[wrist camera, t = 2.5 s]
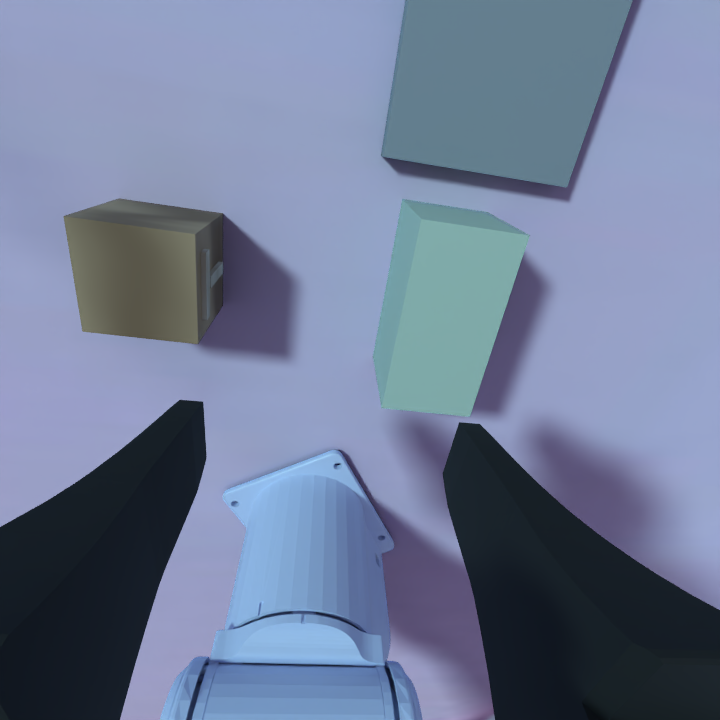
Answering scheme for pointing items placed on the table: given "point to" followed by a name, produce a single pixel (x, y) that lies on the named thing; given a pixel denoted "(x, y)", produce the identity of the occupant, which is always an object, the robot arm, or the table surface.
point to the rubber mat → (500, 83)
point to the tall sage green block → (443, 306)
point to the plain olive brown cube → (147, 269)
